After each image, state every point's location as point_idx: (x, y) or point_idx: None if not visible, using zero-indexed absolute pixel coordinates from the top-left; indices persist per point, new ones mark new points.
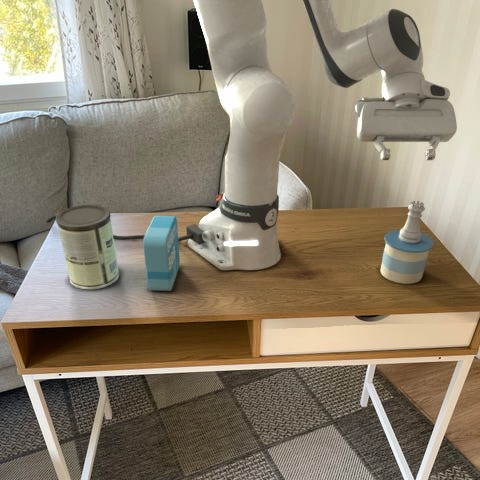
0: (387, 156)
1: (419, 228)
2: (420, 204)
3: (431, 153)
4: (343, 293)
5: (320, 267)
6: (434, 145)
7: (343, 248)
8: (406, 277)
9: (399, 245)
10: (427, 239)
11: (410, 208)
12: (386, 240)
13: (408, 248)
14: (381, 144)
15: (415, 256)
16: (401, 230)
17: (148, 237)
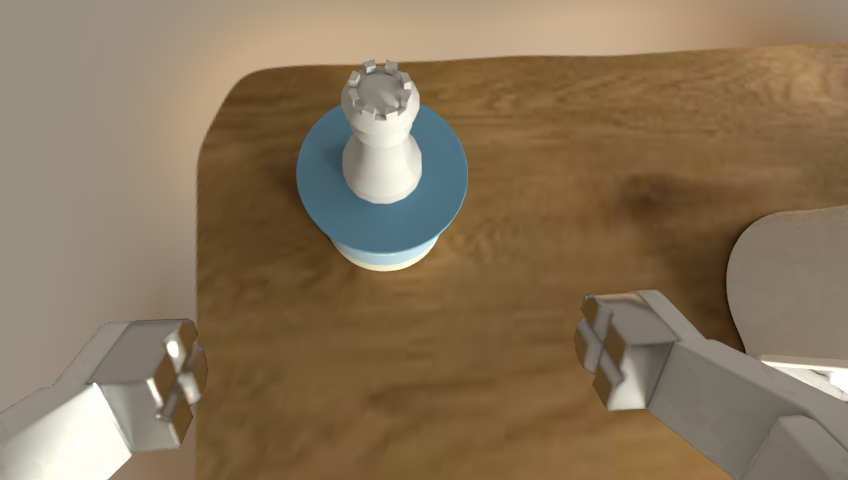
0: (615, 293)
1: (352, 141)
2: (361, 96)
3: (137, 339)
4: (552, 116)
5: (608, 238)
6: (23, 423)
7: (537, 364)
8: None
9: (427, 128)
10: (312, 174)
11: (413, 86)
12: (464, 163)
13: None
14: (765, 370)
15: None
16: (417, 160)
17: None
